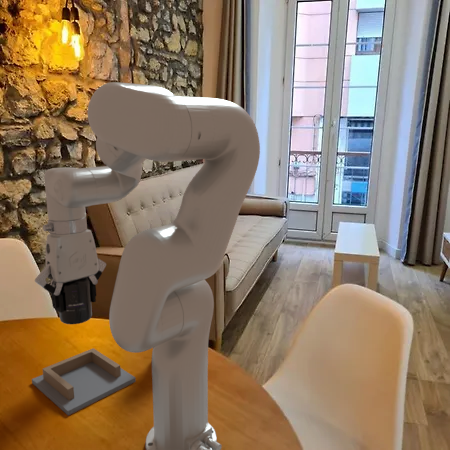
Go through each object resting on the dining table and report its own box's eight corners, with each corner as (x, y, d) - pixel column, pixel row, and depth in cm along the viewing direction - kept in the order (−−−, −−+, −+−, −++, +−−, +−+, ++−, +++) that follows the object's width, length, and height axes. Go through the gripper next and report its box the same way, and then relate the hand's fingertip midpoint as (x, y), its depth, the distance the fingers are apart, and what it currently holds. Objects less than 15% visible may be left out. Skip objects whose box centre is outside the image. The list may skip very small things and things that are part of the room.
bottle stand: (135, 381, 97) (135, 367, 96) (68, 415, 86) (66, 399, 85) (96, 356, 108) (95, 343, 107) (32, 383, 96) (30, 368, 95)
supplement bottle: (74, 327, 92) (69, 273, 90) (53, 321, 96) (48, 268, 93) (99, 316, 98) (95, 265, 95) (78, 310, 102) (74, 260, 99)
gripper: (35, 236, 84) (44, 322, 88) (113, 222, 96) (119, 298, 100) (19, 230, 89) (28, 313, 93) (95, 218, 101) (101, 291, 105)
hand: (75, 304), depth 96 cm, fingers closed on supplement bottle, 6 cm apart
